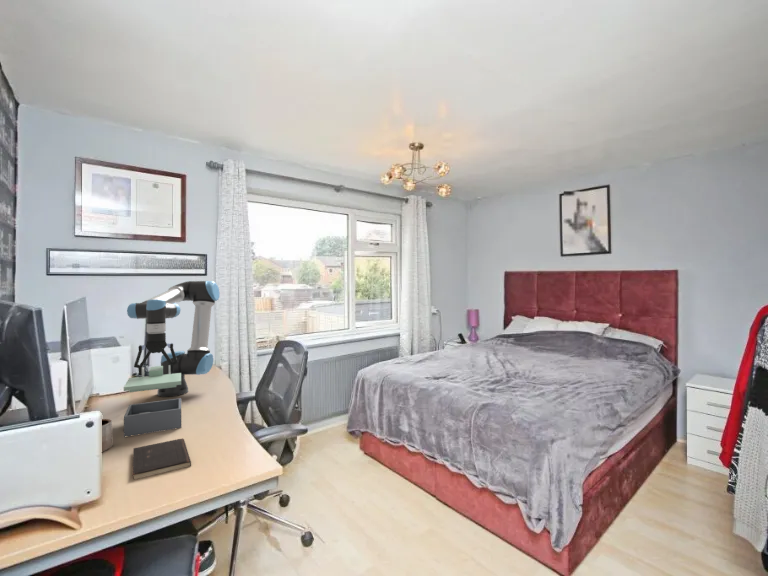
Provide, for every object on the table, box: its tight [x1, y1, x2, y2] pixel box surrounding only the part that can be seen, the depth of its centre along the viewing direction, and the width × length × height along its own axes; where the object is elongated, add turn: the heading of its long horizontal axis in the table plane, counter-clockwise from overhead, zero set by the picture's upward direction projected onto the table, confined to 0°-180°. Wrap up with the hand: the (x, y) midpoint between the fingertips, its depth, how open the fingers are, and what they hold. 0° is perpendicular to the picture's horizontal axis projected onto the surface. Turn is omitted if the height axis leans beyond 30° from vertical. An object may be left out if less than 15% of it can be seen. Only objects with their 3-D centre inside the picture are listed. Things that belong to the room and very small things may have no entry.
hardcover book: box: [132, 438, 192, 480], centre depth 127 cm, size 16×23×2 cm
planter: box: [101, 418, 113, 453], centre depth 135 cm, size 11×11×10 cm
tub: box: [123, 397, 182, 438], centre depth 160 cm, size 18×20×8 cm
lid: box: [123, 365, 181, 393], centre depth 164 cm, size 27×20×5 cm
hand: (156, 380), depth 172 cm, fingers open, 10 cm apart
